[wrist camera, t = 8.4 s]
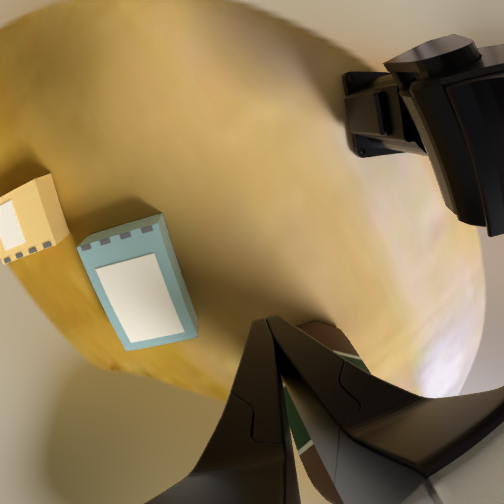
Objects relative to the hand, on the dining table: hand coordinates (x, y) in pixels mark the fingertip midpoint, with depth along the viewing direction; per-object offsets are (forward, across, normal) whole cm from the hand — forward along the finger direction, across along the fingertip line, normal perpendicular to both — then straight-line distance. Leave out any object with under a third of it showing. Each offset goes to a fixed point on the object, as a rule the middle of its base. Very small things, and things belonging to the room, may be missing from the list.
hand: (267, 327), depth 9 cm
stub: (+12, +15, -5) cm, 20 cm away
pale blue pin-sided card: (+12, +8, +3) cm, 14 cm away
